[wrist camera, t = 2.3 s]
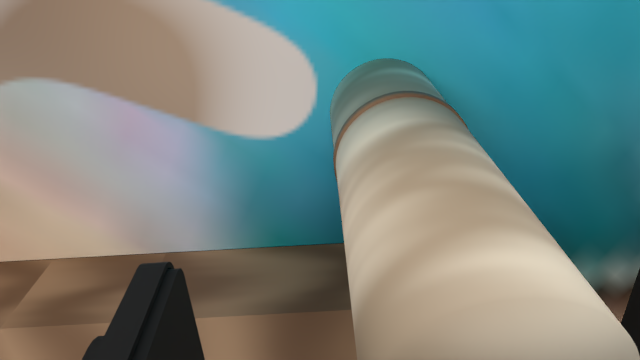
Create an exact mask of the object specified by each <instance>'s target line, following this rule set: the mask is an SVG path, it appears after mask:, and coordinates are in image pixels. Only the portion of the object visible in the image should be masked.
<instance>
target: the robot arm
mask: <svg viewBox="0 0 640 360" xmlns="http://www.w3.org/2000/svg"><path fill="white" fill-rule="evenodd" d="M621 325H622V326H623V327H624V329H625V330H626V331H627V332H628V334H629V335H630V336H631V338H632V340H633V341H634V343H635V345H636V347H637V349H638V352H639V356H640V269H639V272H638V275H637V278H636V281H635V284H634V287H633V290H632V293H631V295H630V298H629V301H628V304H627V307H626V310H625V313H624V316H623V319H622V322H621ZM82 360H205V358H204V354H203V350H202V346H201V341H200V337H199V333H198V329H197V325H196V321H195V317H194V313H193V309H192V304H191V300H190V296H189V292H188V288H187V284H186V280H185V276H184V272H183V270H182V269H181V268H177V269H174V266H173V264H172V263H171V262H157V263H143V264H140V265H139V266H138V268H137V269H136V272H135V274H134V276H133V278H132V280H131V282H130V284H129V286H128V288H127V290H126V292H125V294H124V296H123V298H122V300H121V302H120V304H119V306H118V309H117V311H116V313H115V315H114V317H113V319H112V321H111V323H110V325H109V327H108V329H107V331H106V333H105V335H104V336H98V337H96V338H95V339H94V340H93V341H92V342H91V344H90V345H89V347H88V348H87V350H86V352H85V354H84V356H83V358H82Z"/></svg>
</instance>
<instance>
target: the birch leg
mask: <svg viewBox="0 0 640 360" xmlns="http://www.w3.org/2000/svg"><path fill="white" fill-rule="evenodd" d="M330 119H331V128H332V137H333V146H334V156H333V161H334V170H335V176H336V180H337V183H338V191H339V200H340V209H341V218H342V227H343V236H344V245H345V254H346V263H347V272H348V281H349V290H350V299H351V308H352V317H353V326H354V335H355V344H356V353H357V360H640V356H639V352H638V349H637V347H636V345H635V343H634V341H633V340H632V338H631V336H630V335H629V334H628V332H627V331H626V330H625V329H624V327H623V326H622V325H621V324H620V322H619V321H618V320H617V318H616V317H615V316H614V315H613V313H612V312H611V311H610V310H609V308H608V307H607V306H606V304H605V303H604V302H603V301H602V299H601V298H600V297H599V296H598V294H597V293H596V292H595V290H594V289H593V288H592V287H591V285H590V284H589V283H588V282H587V280H586V279H585V278H584V276H583V275H582V274H581V273H580V271H579V270H578V269H577V268H576V266H575V265H574V264H573V262H572V261H571V260H570V259H569V257H568V256H567V255H566V254H565V252H564V251H563V250H562V248H561V247H560V246H559V245H558V243H557V242H556V241H555V240H554V238H553V237H552V236H551V234H550V233H549V232H548V231H547V229H546V228H545V227H544V226H543V224H542V223H541V222H540V220H539V219H538V218H537V217H536V215H535V214H534V213H533V212H532V210H531V209H530V208H529V206H528V205H527V204H526V203H525V201H524V200H523V199H522V198H521V196H520V195H519V194H518V192H517V191H516V190H515V189H514V187H513V186H512V185H511V184H510V182H509V181H508V180H507V179H506V177H505V176H504V175H503V173H502V172H501V171H500V170H499V168H498V167H497V166H496V165H495V163H494V162H493V161H492V159H491V158H490V157H489V156H488V154H487V153H486V152H485V151H484V149H483V148H482V147H481V145H480V144H479V143H478V142H477V140H476V139H475V138H474V137H473V135H472V134H471V133H470V131H469V130H468V128H467V126H466V124H465V123H464V121H463V120H462V118H461V117H460V116H459V114H458V113H457V112H456V111H455V110H454V109H453V108H452V107H451V106H450V105H449V104H448V103H447V102H446V101H445V100H444V98H443V97H442V96H441V95H440V93H439V92H438V91H437V89H436V88H435V87H434V86H433V84H432V83H431V82H430V81H429V79H428V78H427V77H426V76H425V75H424V73H423V72H422V71H420V70H419V69H418V68H416V67H415V66H413V65H412V64H409V63H407V62H405V61H401V60H397V59H377V60H373V61H369V62H367V63H364V64H362V65H360V66H358V67H356V68H355V69H354V70H352V71H351V72H349V73H348V74H347V75H346V76H345V77H344V78H343V80H342V81H341V82H340V83H339V85H338V87H337V88H336V90H335V92H334V95H333V98H332V101H331V106H330Z"/></svg>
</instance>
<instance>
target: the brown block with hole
mask: <svg viewBox="0 0 640 360" xmlns="http://www.w3.org/2000/svg"><path fill="white" fill-rule="evenodd" d="M157 262H171V263H172V264H173V266H174V269H177V268H181V269H182V270H183V272H184V276H185V280H186V284H187V288H188V292H189V296H190V300H191V304H192V309H193V313H194V317H195V321H196V325H197V329H198V333H199V337H200V341H201V346H202V350H203V354H204V358H205V360H357V353H356V344H355V335H354V326H353V317H352V308H351V299H350V290H349V281H348V272H347V263H346V254H345V245H344V243H339V244H321V245H303V246H285V247H267V248H249V249H231V250H213V251H195V252H177V253H159V254H140V255H122V256H104V257H86V258H68V259H50V260H32V261H14V262H0V360H82V358H83V356H84V354H85V352H86V350H87V348H88V347H89V345H90V344H91V342H92V341H93V340H94V339H95V338H96V337H98V336H104V335H105V333H106V331H107V329H108V327H109V325H110V323H111V321H112V319H113V317H114V315H115V313H116V311H117V309H118V306H119V304H120V302H121V300H122V298H123V296H124V294H125V292H126V290H127V288H128V286H129V284H130V282H131V280H132V278H133V276H134V274H135V272H136V269H137V268H138V266H139V265H140V264H143V263H157Z"/></svg>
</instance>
